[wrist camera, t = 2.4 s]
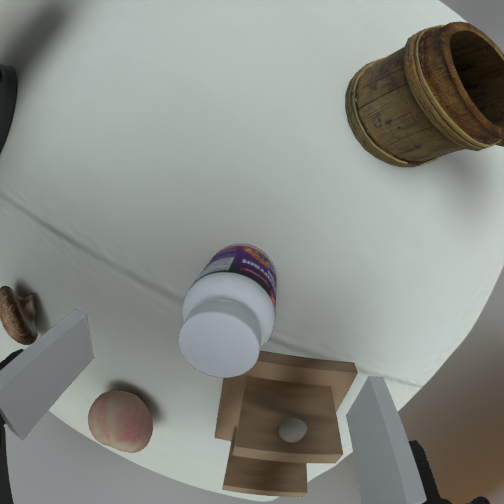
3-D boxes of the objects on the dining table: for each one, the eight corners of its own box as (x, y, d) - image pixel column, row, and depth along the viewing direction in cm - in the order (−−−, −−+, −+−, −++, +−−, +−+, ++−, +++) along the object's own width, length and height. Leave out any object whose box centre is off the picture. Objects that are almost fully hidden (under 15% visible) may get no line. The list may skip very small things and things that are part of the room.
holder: (216, 428, 28) (201, 491, 19) (230, 345, 24) (208, 426, 14) (311, 441, 27) (314, 502, 18) (354, 363, 23) (378, 439, 14)
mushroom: (27, 292, 21) (-9, 323, 17) (60, 336, 26) (29, 363, 22) (16, 263, 25) (-14, 289, 21) (43, 305, 30) (15, 328, 26)
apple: (111, 406, 29) (86, 445, 21) (102, 369, 27) (69, 411, 19) (163, 425, 29) (144, 470, 21) (160, 390, 27) (135, 442, 19)
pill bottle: (288, 287, 21) (294, 367, 12) (231, 315, 23) (206, 397, 13) (253, 229, 20) (234, 277, 11) (196, 262, 22) (143, 324, 12)
